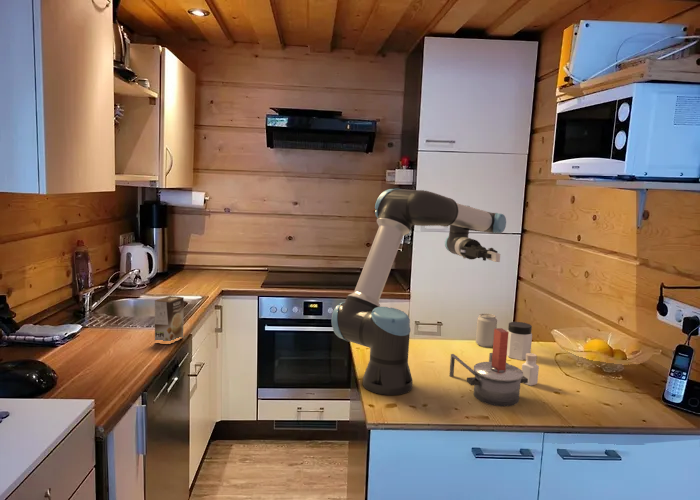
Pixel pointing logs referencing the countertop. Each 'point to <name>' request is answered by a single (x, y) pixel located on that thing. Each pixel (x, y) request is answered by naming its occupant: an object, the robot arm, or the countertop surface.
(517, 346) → the jar
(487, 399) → the cooker
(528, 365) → the salt shaker
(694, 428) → the countertop surface
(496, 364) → the lid
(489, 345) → the can
